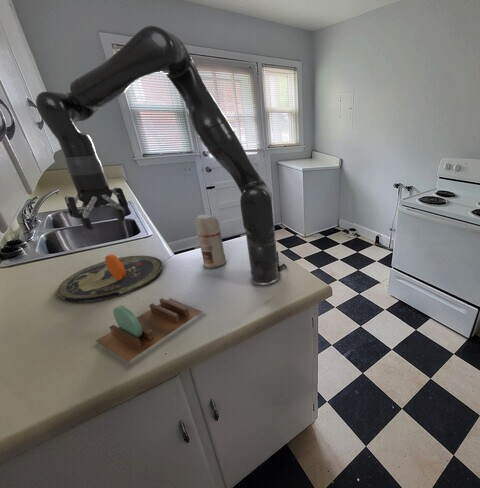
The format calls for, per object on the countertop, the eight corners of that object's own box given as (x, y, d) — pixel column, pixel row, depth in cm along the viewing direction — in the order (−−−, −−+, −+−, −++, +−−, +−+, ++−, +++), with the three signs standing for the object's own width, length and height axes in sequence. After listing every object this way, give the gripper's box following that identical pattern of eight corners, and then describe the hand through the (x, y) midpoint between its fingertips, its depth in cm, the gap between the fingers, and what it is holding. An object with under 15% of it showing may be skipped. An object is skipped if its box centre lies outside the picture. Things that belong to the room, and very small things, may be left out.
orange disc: (115, 276, 94) (105, 252, 91) (129, 280, 90) (119, 255, 87) (111, 277, 94) (101, 254, 90) (125, 281, 89) (115, 257, 86)
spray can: (199, 264, 105) (189, 215, 97) (219, 257, 111) (210, 210, 103) (210, 271, 100) (200, 220, 92) (230, 263, 106) (222, 214, 98)
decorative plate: (153, 248, 115) (170, 275, 94) (154, 252, 115) (172, 280, 94) (59, 271, 97) (54, 311, 76) (61, 276, 98) (57, 317, 77)
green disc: (125, 329, 70) (114, 300, 66) (146, 341, 66) (135, 311, 62) (120, 332, 69) (108, 303, 65) (141, 344, 65) (130, 314, 61)
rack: (171, 302, 83) (168, 291, 81) (203, 315, 77) (200, 304, 75) (97, 345, 67) (91, 332, 65) (130, 366, 61) (124, 353, 59)
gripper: (62, 176, 70) (85, 234, 77) (121, 169, 81) (137, 220, 88) (49, 175, 73) (72, 230, 80) (107, 167, 85) (124, 217, 91)
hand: (106, 225), depth 84 cm, fingers open, 8 cm apart
